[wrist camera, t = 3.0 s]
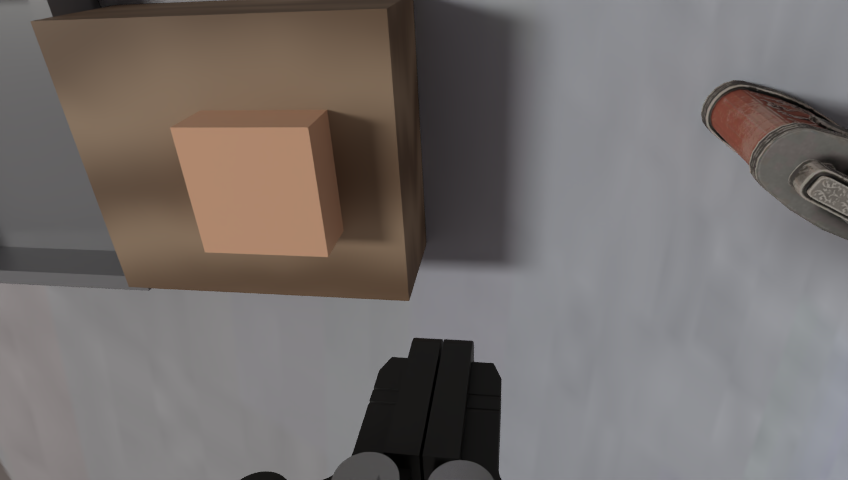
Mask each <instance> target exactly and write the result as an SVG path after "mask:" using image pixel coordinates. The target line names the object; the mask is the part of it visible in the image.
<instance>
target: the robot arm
mask: <svg viewBox="0 0 848 480" xmlns="http://www.w3.org/2000/svg"><path fill="white" fill-rule="evenodd" d="M500 419H501V377H500V375H499V373H498V371H497V369H496V367H495V365H494V364H493V363H481V362H474V342H473V341H465V340H447V339H445V340H444V342H443V340H442V339H427V338H414V339H413V341H412V344H411V348H410V352H409V356H408V358H398V357H391V359H390V360H389V361H388V362H387V363H386V364H385V365H384V366H383V367H382V368H381V369H380V370H379V373H378V376H377V379H376V382H375V385H374V390H373V392H372V395H371V398H370V403H369V404H368V407H367V410H366V414H365V417H364V420H363V423H362V426H361V429H360V432H359V435H358V439H357V442H356V445H355V448H354V451H353V454H352V456H351V457H349V458H347V459H346V460H345V461H343V462H342V463H341V464H340V465H339V466H338V468H337V469H336V471H335V472H334V474H333V475H332V476H331V477H329V478H326V479H324V480H501V478H500V475H499V447H500ZM241 480H286V479H285V478H284V477H283V476H281V475H280V474H277V473H274V472H257V473H254V474H251V475H248V476H246V477H244V478H242V479H241Z"/></svg>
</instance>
